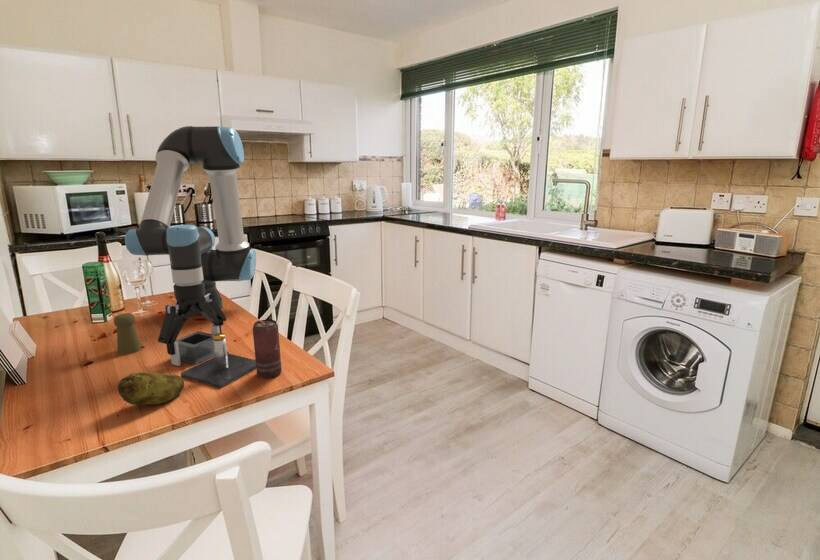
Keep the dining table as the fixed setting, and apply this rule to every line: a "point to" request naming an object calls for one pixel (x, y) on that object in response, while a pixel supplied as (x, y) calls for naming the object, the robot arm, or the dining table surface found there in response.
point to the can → (267, 348)
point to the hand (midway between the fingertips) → (197, 355)
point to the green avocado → (150, 388)
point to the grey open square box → (196, 347)
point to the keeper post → (220, 366)
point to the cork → (126, 334)
